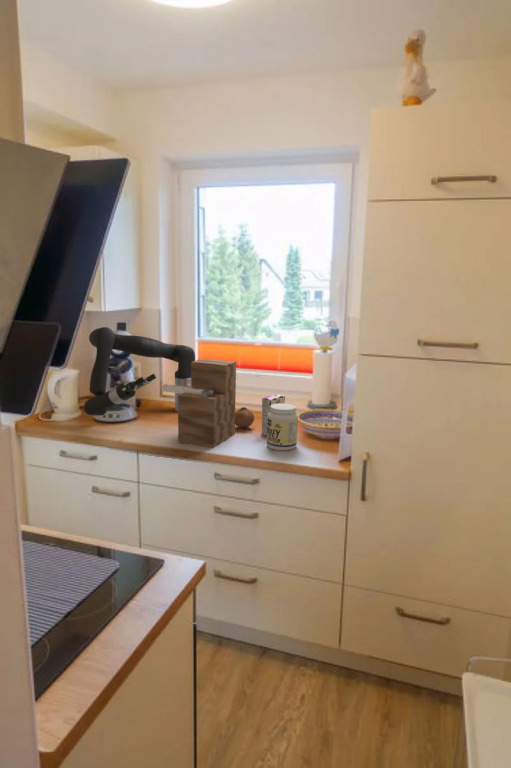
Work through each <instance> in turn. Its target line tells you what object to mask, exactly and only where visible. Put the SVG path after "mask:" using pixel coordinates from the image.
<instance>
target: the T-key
mask: <svg viewBox="0 0 511 768" xmlns="http://www.w3.org/2000/svg"><path fill="white" fill-rule="evenodd" d="M162 392H165V393H174V394H175V393H182V394H190V395H198V396H201V398H209V397H211V396H213V395H216V388H209V389H203V388H194V387H185V386H176V385H175V384H167V383H166V384H163V385H162Z"/></svg>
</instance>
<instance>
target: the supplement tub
mask: <svg viewBox="0 0 511 768" xmlns="http://www.w3.org/2000/svg"><path fill="white" fill-rule="evenodd" d="M298 421H299V415H298V413H297V406H296V405H294V404H291V403H285V404H273V405H271V406H270V412H269V414H268V424H267V435H266V445H267V447H268V448H269V449H272V450H274V451H275V450H276V451H285V452H286V451H292V450H294V449H295V448H296V447H297V443H298V441H297V440H298V427H299V426H298Z"/></svg>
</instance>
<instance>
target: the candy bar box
mask: <svg viewBox="0 0 511 768" xmlns="http://www.w3.org/2000/svg"><path fill="white" fill-rule="evenodd" d="M285 397H286V395H284V394H280V393H276V394H275V393H274V394H273V395H269V396H266V397H263V398H261V400H262V401H261V434H262V435H264V436H267V424H268V414H269V412H270V406H271V405H273V404H286V403H285V402H286V401H285V399H286V398H285Z"/></svg>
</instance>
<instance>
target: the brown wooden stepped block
mask: <svg viewBox="0 0 511 768" xmlns="http://www.w3.org/2000/svg"><path fill="white" fill-rule="evenodd" d="M236 382H237V361H233V360H232V361H230V360H219V359H209V358H201V359H198V360H197V359H196V360H195V361H193V362H191V387H194V388H203V389H209V388H216V395H213V396H211V397H209V398H201V396H198V395H190V394H180V395H178V412H177V421H178V422H177V423H178V426H177V427H178V428H177V429H178V430H177V432H178V436H177V437H178V438H177V439H178V440H177V441H178V442H179V443H178V444H184V443H186V444H185V445H190V444H192V446H196V445H197V447H203V448H210V449H214V448H216V447H218V446H219V445H220V444H223V443H224V442H225V441H226V440H228V439H229V438H232V437H233V436H234V435H235V434H236V425H235V412H236V393H237V391H236V386H237V385H236V384H237V383H236Z"/></svg>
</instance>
